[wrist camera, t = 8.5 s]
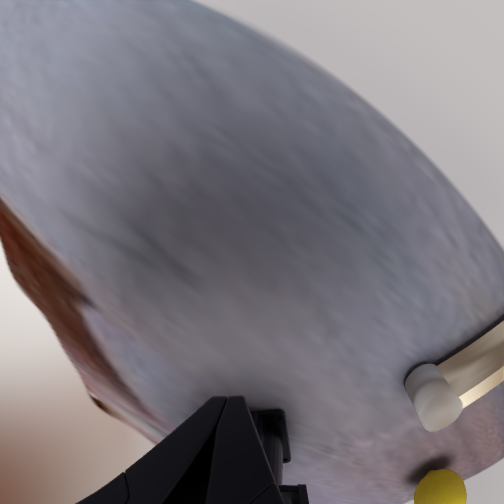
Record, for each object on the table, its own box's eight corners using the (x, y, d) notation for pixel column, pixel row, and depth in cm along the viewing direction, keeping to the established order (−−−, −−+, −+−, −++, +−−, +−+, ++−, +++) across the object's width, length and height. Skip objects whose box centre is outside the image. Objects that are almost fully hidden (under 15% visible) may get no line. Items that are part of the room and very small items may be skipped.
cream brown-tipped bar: (409, 400, 20) (427, 437, 16) (400, 376, 19) (420, 413, 15) (513, 332, 18) (542, 356, 14) (511, 304, 17) (543, 326, 13)
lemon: (459, 460, 22) (482, 509, 14) (422, 488, 23) (438, 538, 16) (438, 450, 22) (463, 506, 14) (397, 480, 23) (413, 537, 15)
